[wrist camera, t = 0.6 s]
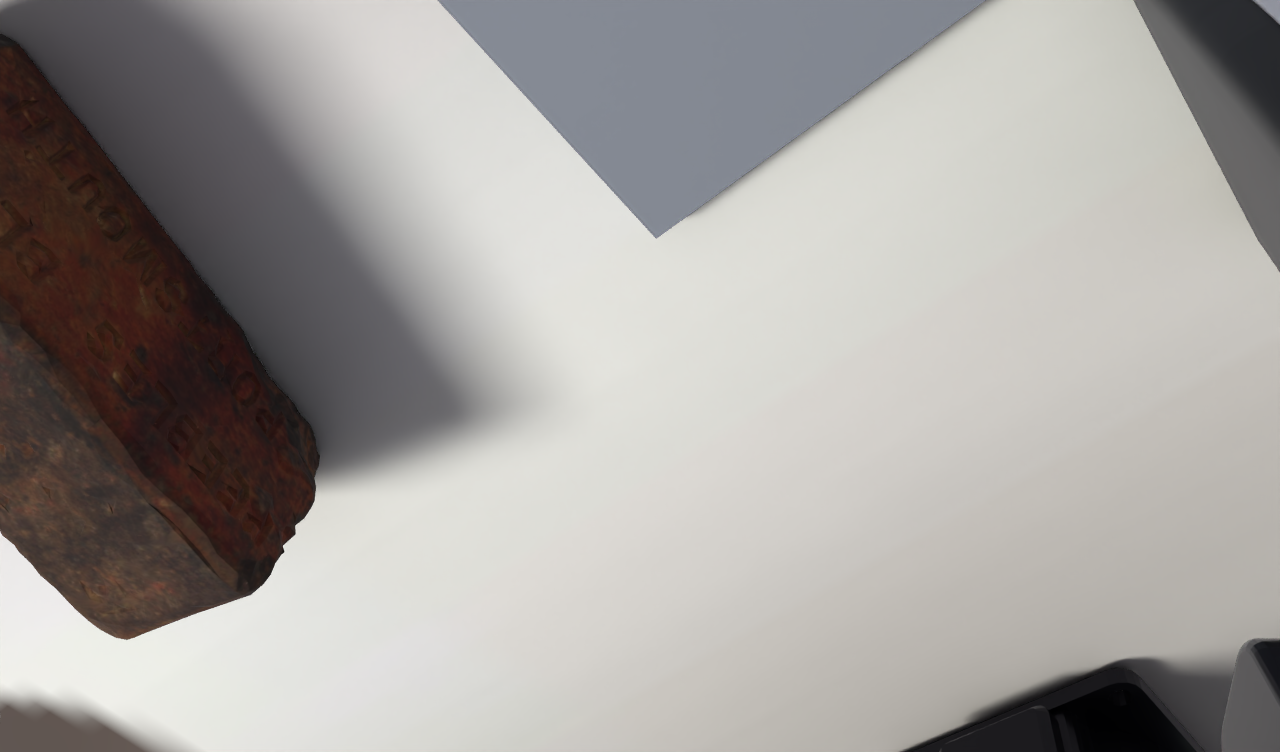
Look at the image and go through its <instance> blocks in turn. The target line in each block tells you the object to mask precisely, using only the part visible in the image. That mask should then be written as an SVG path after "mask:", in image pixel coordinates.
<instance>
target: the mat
mask: <svg viewBox="0 0 1280 752" xmlns="http://www.w3.org/2000/svg"><path fill="white" fill-rule="evenodd" d="M438 1H439V2H440V3H441V4H442V6H443V7H444V8H445V9H446V10H447V11H448V12H449V13H450V14H451V15H452V16H453V18H454V19H455V20H456V21H457V22H458V23H459V24H460V25H461V26H462V27H463V28H464V30H465V31H466V32H467V33H468V34H469V35H470V36H471V37H472V38H473V39H474V40H475V42H476V43H477V44H478V45H479V46H480V47H481V48H482V49H483V50H484V51H485V52H486V54H487V55H488V56H489V57H490V58H491V59H492V60H493V61H494V62H495V63H496V64H497V66H498V67H499V68H500V69H501V70H502V71H503V72H504V73H505V74H506V75H507V76H508V78H509V79H510V80H511V81H512V82H513V83H514V84H515V85H516V86H517V87H518V88H519V90H520V91H521V92H522V93H523V94H524V95H525V96H526V97H527V98H528V99H529V100H530V102H531V103H532V104H533V105H534V106H535V107H536V108H537V109H538V110H539V111H540V112H541V114H542V115H543V116H544V117H545V118H546V119H547V120H548V121H549V122H550V123H551V124H552V126H553V127H554V128H555V129H556V130H557V131H558V132H559V133H560V134H561V135H562V136H563V138H564V139H565V140H566V141H567V142H568V143H569V144H570V145H571V146H572V147H573V148H574V150H575V151H576V152H577V153H578V154H579V155H580V156H581V157H582V158H583V159H584V160H585V162H586V163H587V164H588V165H589V166H590V167H591V168H592V169H593V170H594V171H595V172H596V174H597V175H598V176H599V177H600V178H601V179H602V180H603V181H604V182H605V183H606V184H607V186H608V187H609V188H610V189H611V190H612V191H613V192H614V193H615V194H616V195H617V196H618V198H619V199H620V200H621V201H622V202H623V203H624V204H625V205H626V206H627V207H628V208H629V210H630V211H631V212H632V213H633V214H634V215H635V216H636V217H637V218H638V219H639V220H640V221H641V223H642V224H643V225H644V226H645V227H646V228H647V229H648V230H649V231H650V232H651V233H652V235H653V236H654V237H655V238H658V237H659V236H661V235H662V234H663V233H665V232H666V231H668V230H669V229H670V228H672V227H673V226H674V225H676V224H677V223H679V222H680V221H681V220H683V219H684V218H685V217H687V216H688V215H690V214H691V213H692V212H694V211H695V210H697V209H698V208H699V207H701V206H702V205H703V204H705V203H706V202H708V201H709V200H710V199H712V198H713V197H714V196H716V195H717V194H719V193H720V192H721V191H723V190H724V189H726V188H727V187H728V186H730V185H731V184H732V183H734V182H735V181H737V180H738V179H739V178H741V177H742V176H744V175H745V174H746V173H748V172H749V171H750V170H752V169H753V168H755V167H756V166H757V165H759V164H760V163H761V162H763V161H764V160H766V159H767V158H768V157H770V156H771V155H773V154H774V153H775V152H777V151H778V150H779V149H781V148H782V147H784V146H785V145H786V144H788V143H789V142H790V141H792V140H793V139H795V138H796V137H797V136H799V135H800V134H802V133H803V132H804V131H806V130H807V129H808V128H810V127H811V126H813V125H814V124H815V123H817V122H818V121H820V120H821V119H822V118H824V117H825V116H826V115H828V114H829V113H831V112H832V111H833V110H835V109H836V108H837V107H839V106H840V105H842V104H843V103H844V102H846V101H847V100H849V99H850V98H851V97H853V96H854V95H855V94H857V93H858V92H860V91H861V90H862V89H864V88H865V87H866V86H868V85H869V84H871V83H872V82H873V81H875V80H876V79H878V78H879V77H880V76H882V75H883V74H884V73H886V72H887V71H889V70H890V69H891V68H893V67H894V66H896V65H897V64H898V63H900V62H901V61H902V60H904V59H905V58H907V57H908V56H909V55H911V54H912V53H913V52H915V51H916V50H918V49H919V48H920V47H922V46H923V45H925V44H926V43H927V42H929V41H930V40H931V39H933V38H934V37H936V36H937V35H938V34H940V33H941V32H942V31H944V30H945V29H947V28H948V27H949V26H951V25H952V24H954V23H955V22H956V21H958V20H959V19H960V18H962V17H963V16H965V15H966V14H967V13H969V12H970V11H972V10H973V9H974V8H976V7H977V6H978V5H980V4H981V3H983V2H984V1H985V0H438Z"/></svg>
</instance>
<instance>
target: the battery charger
mask: <svg viewBox="0 0 1280 752" xmlns="http://www.w3.org/2000/svg"><path fill="white" fill-rule="evenodd" d="M1134 2H1135V4H1136V6H1137V8H1138V10H1139V12H1140V14H1141V16H1142V18H1143V19H1144V21H1145V23H1146V25H1147V27H1148V29H1149V31H1150V33H1151V35H1152V37H1153V39H1154V41H1155V43H1156V45H1157V47H1158V49H1159V50H1160V52H1161V54H1162V56H1163V58H1164V60H1165V62H1166V64H1167V66H1168V68H1169V70H1170V72H1171V74H1172V76H1173V78H1174V79H1175V81H1176V83H1177V85H1178V87H1179V89H1180V91H1181V93H1182V95H1183V97H1184V99H1185V101H1186V103H1187V105H1188V107H1189V108H1190V110H1191V112H1192V114H1193V116H1194V118H1195V120H1196V122H1197V124H1198V126H1199V128H1200V130H1201V132H1202V133H1203V135H1204V137H1205V139H1206V141H1207V143H1208V145H1209V147H1210V149H1211V151H1212V153H1213V155H1214V157H1215V158H1216V160H1217V162H1218V164H1219V166H1220V168H1221V170H1222V172H1223V174H1224V176H1225V178H1226V180H1227V182H1228V184H1229V185H1230V187H1231V189H1232V191H1233V193H1234V195H1235V197H1236V199H1237V201H1238V203H1239V205H1240V207H1241V208H1242V210H1243V212H1244V214H1245V216H1246V218H1247V220H1248V222H1249V224H1250V226H1251V228H1252V229H1253V231H1254V233H1255V235H1256V237H1257V239H1258V241H1259V242H1260V244H1261V245H1262V247H1263V248H1264V249H1265V251H1266V252H1267V254H1268V255H1269V257H1270V258H1271V260H1272V261H1273V263H1274V264H1275V265H1276V267H1277V268H1278V270H1279V271H1280V0H1134Z"/></svg>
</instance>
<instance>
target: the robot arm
mask: <svg viewBox="0 0 1280 752" xmlns="http://www.w3.org/2000/svg"><path fill="white" fill-rule="evenodd" d="M1118 690H1123V691H1118ZM1114 691H1118V692H1114ZM1221 747H1222V752H1280V639H1260V638H1257V639H1252V640H1249V641H1247V642H1246V643H1244V645H1243V646H1242V647H1241V649H1240V651H1239V653H1238V657H1237V661H1236V665H1235V670H1234V674H1233V679H1232V683H1231V688H1230V693H1229V697H1228V702H1227V706H1226V711H1225V715H1224V720H1223V725H1222V733H1221ZM913 752H1205V751H1204V750H1203V749H1202V748H1201V747H1200V746H1199V745H1198V743H1197V742H1196V741H1195V740H1194V739H1193V738H1192V737H1191V735H1190V734H1189V733H1188V732H1187V731H1186V730H1185V729H1184V727H1183V726H1182V725H1181V724H1180V723H1179V722H1178V721H1177V719H1176V718H1175V717H1174V716H1173V715H1172V714H1171V713H1170V711H1169V710H1168V709H1167V708H1166V707H1165V706H1164V704H1163V703H1162V702H1161V701H1160V700H1159V699H1158V698H1157V696H1156V695H1155V694H1154V693H1153V692H1152V691H1151V690H1150V688H1149V687H1148V686H1147V685H1146V684H1145V683H1144V682H1143V680H1142V679H1141V678H1140V677H1139V676H1138V675H1137V674H1136V673H1134V672H1133V671H1131V670H1127V669H1124V668H1114V669H1110V670H1107V671H1104V672H1101V673H1099V674H1097V675H1094V676H1092V677H1089V678H1087V679H1085V680H1082V681H1080V682H1077V683H1075V684H1073V685H1070V686H1068V687H1066V688H1063V689H1061V690H1058V691H1056V692H1054V693H1051V694H1049V695H1046V696H1044V697H1042V698H1039V699H1037V700H1035V701H1032V702H1030V703H1027V704H1025V705H1023V706H1020V707H1018V708H1015V709H1013V710H1011V711H1008V712H1006V713H1004V714H1001V715H999V716H996V717H994V718H992V719H989V720H987V721H984V722H982V723H980V724H977V725H975V726H972V727H970V728H968V729H965V730H963V731H961V732H958V733H956V734H953V735H951V736H949V737H946V738H944V739H941V740H939V741H937V742H934V743H932V744H930V745H927V746H925V747H922V748H920V749H918V750H915V751H913Z"/></svg>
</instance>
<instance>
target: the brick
mask: <svg viewBox="0 0 1280 752" xmlns="http://www.w3.org/2000/svg"><path fill="white" fill-rule="evenodd" d="M319 459H320V455H319V453H318V451H317V449H316V443H315V437H314V433H313V431H312V429H311V427H310V425H309V423H308V422H307V421H306V420H305V419H304V418H303V417H302V416H301V415H300V414H299V413H298V412H297V409H296V406H295V405H294V404H293V403H292V401H291V400H290V399H289V398H288V397H287V396H286V395H285V394H284V393H283V392H282V391H281V390H280V389H279V388H278V387H277V386H276V384H275V383H274V382H273V381H272V380H271V379H270V377H269V376H268V375H267V373H266V371H265V370H264V368H263V366H262V364H261V363H260V361H259V360H258V359H257V357H256V356H255V354H254V353H253V351H252V349H251V347H250V345H249V343H248V341H247V339H246V337H245V334H244V332H243V330H242V329H241V328H240V327H239V325H238V324H237V323H236V322H235V320H234V319H233V318H232V317H231V316H230V315H229V314H228V313H227V312H226V311H225V310H224V309H223V307H222V306H221V305H220V304H219V302H218V301H217V299H216V298H215V296H214V294H213V292H212V291H211V290H210V289H209V288H208V286H207V285H206V284H205V283H204V282H203V281H202V280H201V278H200V277H199V276H198V275H197V274H196V272H195V271H194V269H193V268H192V266H191V264H190V263H189V261H188V260H187V259H186V258H185V256H184V255H183V254H182V253H181V251H180V250H179V249H178V248H177V246H176V245H175V244H174V243H173V241H172V240H171V239H170V237H169V236H168V235H167V234H166V232H165V231H164V230H163V229H162V227H161V226H160V225H159V223H158V222H157V221H156V220H155V218H154V217H153V216H152V214H151V213H150V212H149V211H148V209H147V208H146V207H145V205H144V204H143V203H142V201H141V200H140V199H139V197H138V196H137V195H136V193H135V192H134V191H133V189H132V188H131V187H130V186H129V184H128V183H127V182H126V181H125V179H124V178H123V177H122V176H121V174H120V173H119V172H118V170H117V169H116V168H115V166H114V165H113V164H112V163H111V161H110V160H109V159H108V157H107V156H106V155H105V153H104V152H103V151H102V150H101V148H100V147H99V146H98V144H97V143H96V142H95V140H94V139H93V138H92V136H91V135H90V134H89V133H88V131H87V130H86V129H85V127H84V126H83V125H82V124H81V123H80V122H79V120H78V119H77V118H76V117H75V116H74V115H73V114H72V112H71V111H70V110H69V109H68V108H67V106H66V105H65V104H64V102H63V101H62V100H61V98H60V97H59V96H58V95H57V93H56V92H55V91H54V89H53V88H52V87H51V86H50V84H49V83H48V82H47V80H46V79H45V78H44V77H43V75H42V74H41V73H40V71H39V70H38V69H37V68H36V66H35V65H34V64H33V62H32V61H31V60H30V59H29V57H28V56H27V55H26V53H25V52H24V51H23V50H22V48H21V47H20V46H19V44H17V43H16V42H14V41H12V40H11V39H9V38H7V37H6V36H4V35H2V34H0V531H1V534H2V535H3V536H4V537H5V538H6V539H8V540H9V541H10V542H11V543H13V544H14V545H15V547H16V548H17V550H18V551H19V552H20V553H21V554H22V555H23V556H24V557H25V558H26V559H27V560H28V561H29V562H30V563H31V564H32V565H33V566H34V568H35V569H36V570H37V572H38V573H39V574H40V575H41V576H42V577H43V578H44V579H45V580H47V581H48V582H49V583H50V584H51V585H52V586H54V587H55V588H56V589H57V590H58V591H59V592H60V593H61V594H62V595H63V597H64V598H65V599H66V600H67V601H68V602H69V603H70V604H71V605H72V606H73V607H74V608H75V609H76V610H77V611H78V612H79V613H80V614H82V615H83V616H84V617H85V618H86V619H87V620H88V621H90V622H91V623H92V624H93V625H95V626H96V627H97V628H99V629H101V630H102V631H104V632H106V633H108V634H110V635H112V636H114V637H116V638H120V639H126V640H128V639H131V638H134V637H137V636H139V635H141V634H144V633H146V632H149V631H151V630H154V629H157V628H159V627H162V626H164V625H167V624H170V623H172V622H175V621H178V620H180V619H183V618H185V617H188V616H191V615H193V614H196V613H199V612H202V611H205V610H208V609H211V608H214V607H217V606H220V605H223V604H226V603H228V602H231V601H234V600H237V599H240V598H243V597H246V596H249V595H251V594H252V593H253V592H255V591H256V590H257V589H258V588H259V587H260V586H262V585H263V584H264V583H265V581H266V580H267V579H268V577H269V576H270V575H271V572H272V570H273V568H274V565H275V563H276V561H277V560H278V559H279V557H280V556H281V554H283V553H284V549H283V545H284V544H285V543H286V542H287V541H289V540H290V539H291V538H292V537H293V536H294V535H295V534H296V532H295V525H296V524H298V523H299V522H300V521H301V520H303V519H304V518H305V516H306V515H307V513H308V512H309V510H310V509H311V507H312V505H313V503H314V500H315V491H316V485H315V480H314V477H315V474H316V470H317V468H318V466H319Z"/></svg>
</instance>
